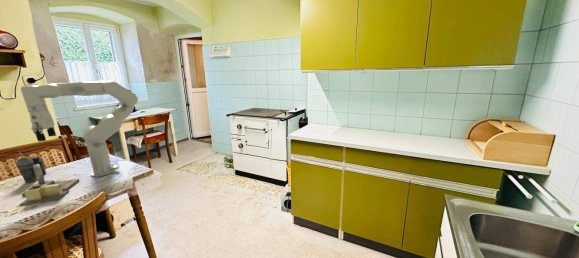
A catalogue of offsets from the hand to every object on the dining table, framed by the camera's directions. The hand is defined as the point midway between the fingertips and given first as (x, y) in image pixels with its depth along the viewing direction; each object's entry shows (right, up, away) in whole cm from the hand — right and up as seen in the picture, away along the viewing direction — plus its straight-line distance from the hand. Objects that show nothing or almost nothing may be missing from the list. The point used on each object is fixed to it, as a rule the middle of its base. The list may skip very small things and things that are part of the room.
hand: (47, 138), depth 131 cm
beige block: (+8, -31, -8) cm, 33 cm away
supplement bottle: (-27, -25, +20) cm, 42 cm away
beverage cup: (-22, -27, +12) cm, 37 cm away
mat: (+8, -31, -8) cm, 33 cm away
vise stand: (0, -29, +2) cm, 29 cm away
